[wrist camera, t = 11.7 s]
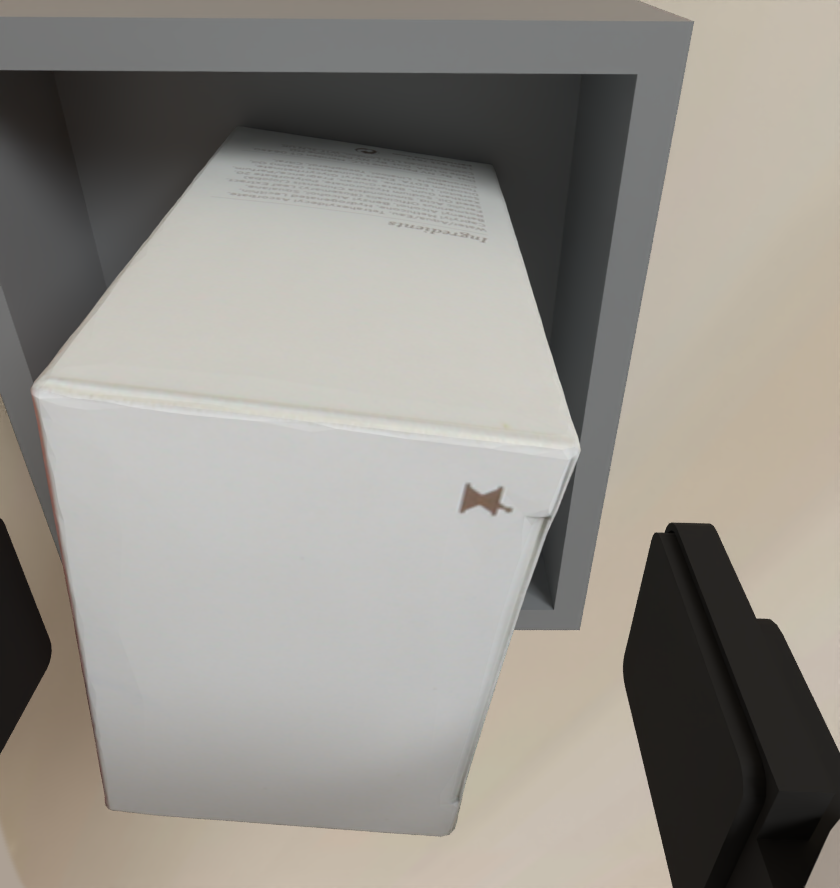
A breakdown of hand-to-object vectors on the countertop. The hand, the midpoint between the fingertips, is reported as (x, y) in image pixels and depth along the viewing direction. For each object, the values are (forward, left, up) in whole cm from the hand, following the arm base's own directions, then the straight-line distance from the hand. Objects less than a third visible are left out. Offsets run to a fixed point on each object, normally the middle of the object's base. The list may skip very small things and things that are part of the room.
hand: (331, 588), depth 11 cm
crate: (+1, 0, -10) cm, 10 cm away
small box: (0, 0, -9) cm, 9 cm away
